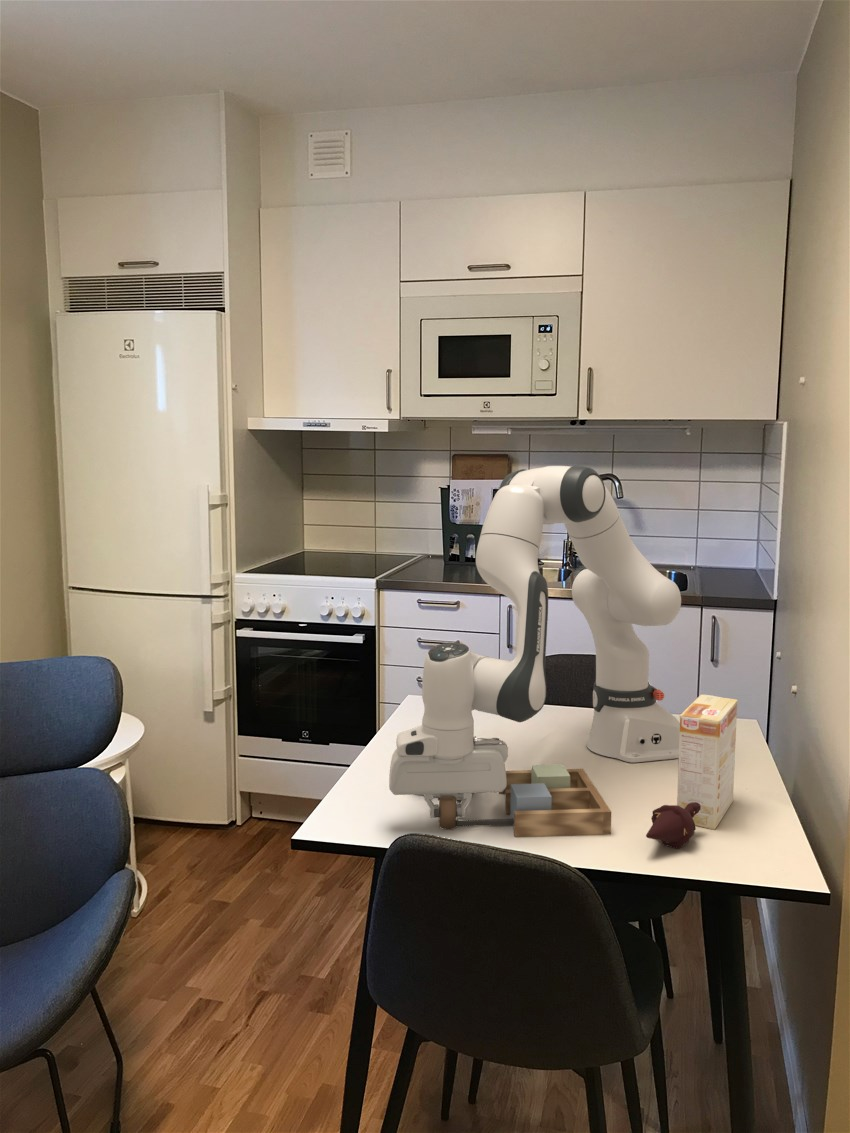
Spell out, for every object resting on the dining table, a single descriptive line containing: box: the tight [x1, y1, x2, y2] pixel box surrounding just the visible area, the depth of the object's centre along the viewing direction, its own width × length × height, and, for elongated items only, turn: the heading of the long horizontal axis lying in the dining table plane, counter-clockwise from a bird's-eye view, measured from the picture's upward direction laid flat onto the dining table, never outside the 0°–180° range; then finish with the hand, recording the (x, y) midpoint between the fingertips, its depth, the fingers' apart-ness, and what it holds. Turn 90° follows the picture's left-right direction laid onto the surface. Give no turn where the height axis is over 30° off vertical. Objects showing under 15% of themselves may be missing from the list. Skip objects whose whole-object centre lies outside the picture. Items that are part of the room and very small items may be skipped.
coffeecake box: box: [676, 694, 739, 830], centre depth 161 cm, size 15×7×20 cm, turn 149°
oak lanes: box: [497, 768, 612, 838], centre depth 162 cm, size 16×20×4 cm
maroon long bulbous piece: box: [645, 802, 701, 850], centre depth 149 cm, size 7×7×15 cm
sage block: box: [530, 763, 570, 789], centre depth 167 cm, size 6×6×6 cm
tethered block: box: [438, 783, 552, 831], centre depth 157 cm, size 19×6×6 cm, turn 94°
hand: (447, 816), depth 156 cm, fingers closed on tethered block, 3 cm apart
